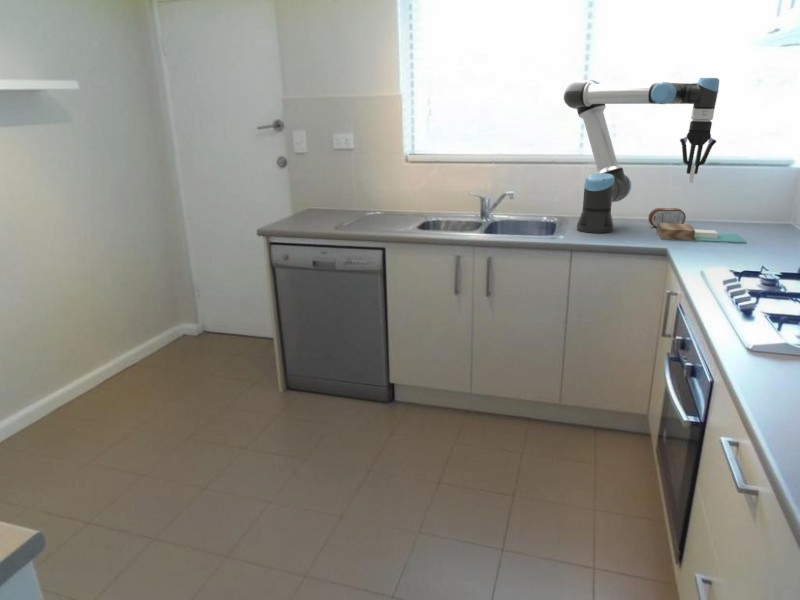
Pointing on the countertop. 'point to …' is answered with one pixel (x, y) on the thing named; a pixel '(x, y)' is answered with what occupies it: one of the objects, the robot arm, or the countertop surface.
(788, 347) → the countertop surface
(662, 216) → the tin
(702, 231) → the white rectangular block
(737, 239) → the mat
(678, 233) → the brown wooden block
